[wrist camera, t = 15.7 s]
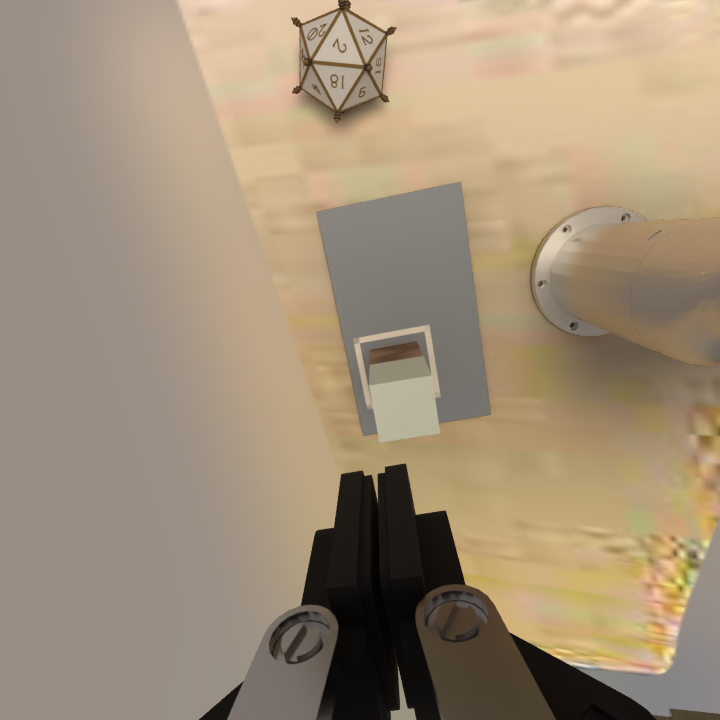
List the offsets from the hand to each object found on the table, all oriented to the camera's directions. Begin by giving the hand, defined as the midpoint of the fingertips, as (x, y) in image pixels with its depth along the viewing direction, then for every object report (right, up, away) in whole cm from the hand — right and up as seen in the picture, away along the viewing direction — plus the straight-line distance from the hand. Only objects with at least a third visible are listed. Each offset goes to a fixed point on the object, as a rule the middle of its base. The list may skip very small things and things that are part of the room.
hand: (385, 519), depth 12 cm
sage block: (+3, +2, +31) cm, 31 cm away
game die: (-2, +30, +31) cm, 43 cm away
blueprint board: (+4, +9, +36) cm, 37 cm away
